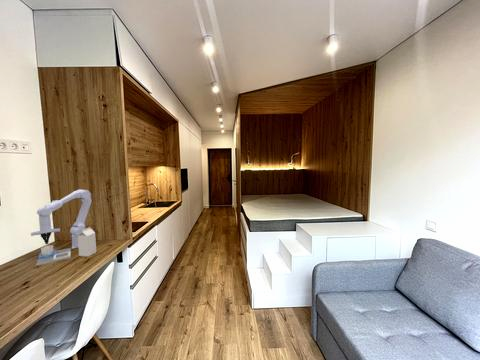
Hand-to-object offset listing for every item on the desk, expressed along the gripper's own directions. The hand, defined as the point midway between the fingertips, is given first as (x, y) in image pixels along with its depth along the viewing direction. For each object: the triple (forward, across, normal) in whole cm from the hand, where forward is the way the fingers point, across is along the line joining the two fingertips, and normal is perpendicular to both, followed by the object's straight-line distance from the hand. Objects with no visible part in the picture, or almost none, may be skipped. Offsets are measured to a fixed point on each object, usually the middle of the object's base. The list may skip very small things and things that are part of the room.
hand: (47, 243), depth 145 cm
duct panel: (+9, -4, +5) cm, 11 cm away
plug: (+8, 0, 0) cm, 8 cm away
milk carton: (+9, -22, +15) cm, 28 cm away
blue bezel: (+9, 0, 0) cm, 9 cm away
